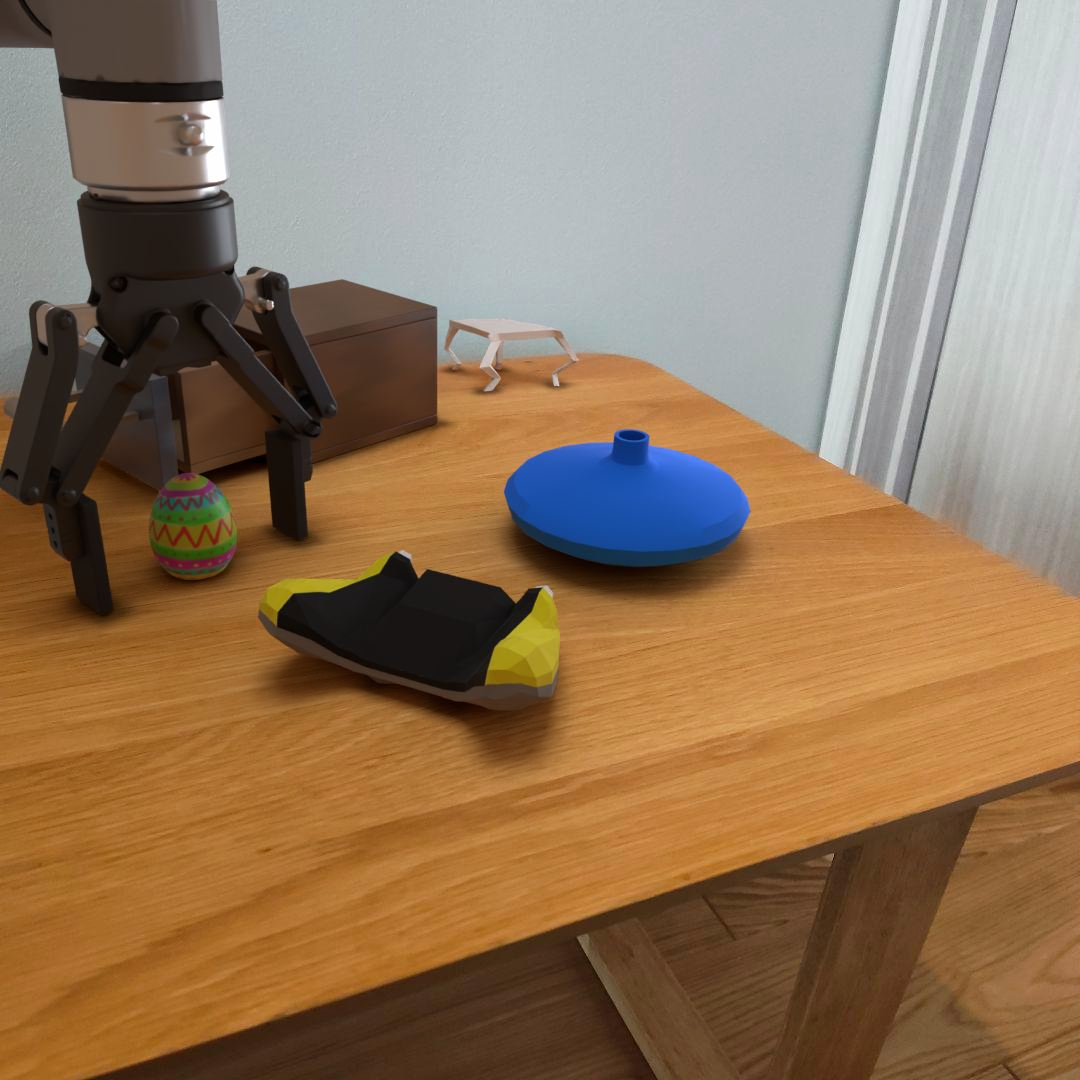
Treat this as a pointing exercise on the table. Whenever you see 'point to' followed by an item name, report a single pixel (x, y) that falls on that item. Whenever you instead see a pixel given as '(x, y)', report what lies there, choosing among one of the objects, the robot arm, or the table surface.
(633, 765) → the table surface
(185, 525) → the egg
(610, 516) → the vase
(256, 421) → the drawer
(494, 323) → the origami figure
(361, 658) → the black and yellow shoe
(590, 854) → the table surface
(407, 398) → the cabinet
